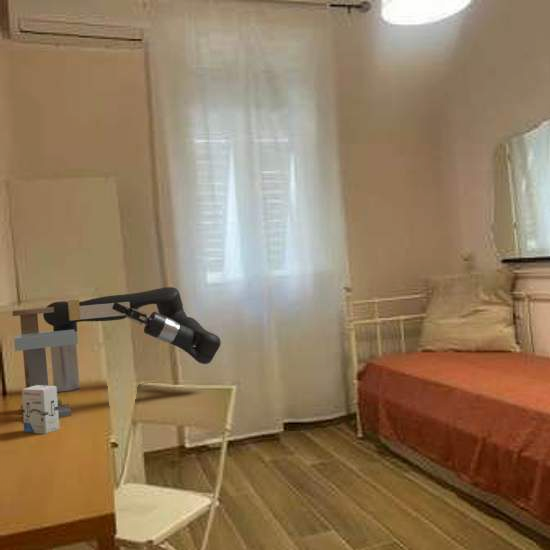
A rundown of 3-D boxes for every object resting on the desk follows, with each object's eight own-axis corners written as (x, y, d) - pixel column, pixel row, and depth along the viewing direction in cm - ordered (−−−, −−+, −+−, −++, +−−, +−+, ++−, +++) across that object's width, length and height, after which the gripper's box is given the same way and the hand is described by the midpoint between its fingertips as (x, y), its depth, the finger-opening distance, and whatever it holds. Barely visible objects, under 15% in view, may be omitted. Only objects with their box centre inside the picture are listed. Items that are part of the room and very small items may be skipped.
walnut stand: (21, 409, 191) (13, 310, 191) (61, 403, 195) (53, 307, 195) (20, 414, 182) (12, 311, 183) (62, 408, 187) (53, 307, 187)
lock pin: (69, 319, 183) (67, 300, 183) (128, 314, 189) (126, 295, 189) (70, 320, 178) (68, 300, 178) (130, 314, 184) (129, 295, 184)
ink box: (23, 432, 158) (19, 388, 158) (38, 427, 162) (35, 385, 162) (45, 434, 154) (42, 389, 154) (60, 429, 158) (57, 385, 158)
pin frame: (22, 415, 181) (16, 335, 182) (80, 406, 188) (74, 329, 188) (21, 424, 168) (14, 338, 168) (83, 414, 174) (76, 332, 174)
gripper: (161, 340, 183) (109, 317, 178) (152, 336, 196) (104, 315, 191) (171, 318, 185) (120, 294, 179) (162, 316, 198) (115, 294, 192)
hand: (112, 305), depth 185 cm, fingers closed on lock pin, 4 cm apart
